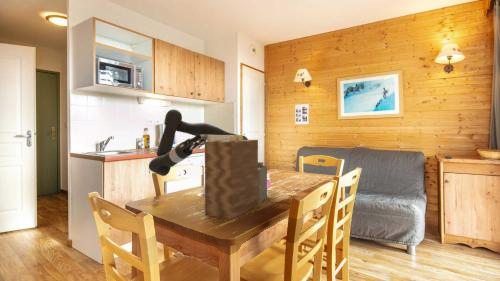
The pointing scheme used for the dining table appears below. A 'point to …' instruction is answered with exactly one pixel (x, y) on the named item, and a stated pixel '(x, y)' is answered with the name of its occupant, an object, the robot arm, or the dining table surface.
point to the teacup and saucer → (202, 192)
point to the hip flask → (262, 182)
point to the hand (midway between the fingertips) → (204, 135)
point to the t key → (223, 137)
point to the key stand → (230, 177)
